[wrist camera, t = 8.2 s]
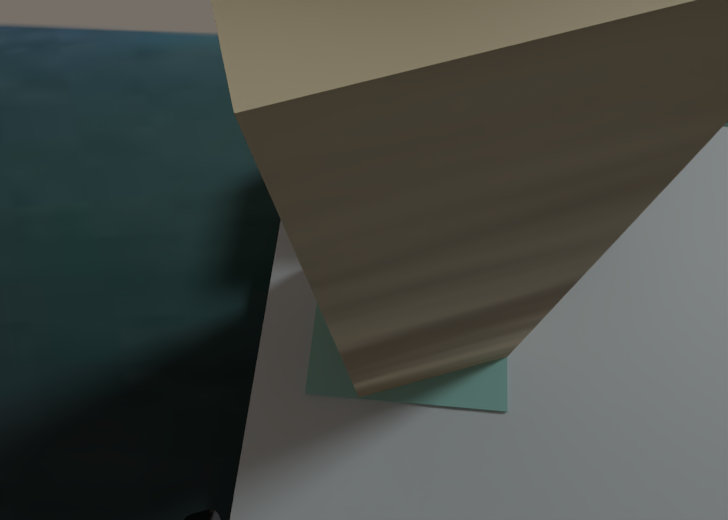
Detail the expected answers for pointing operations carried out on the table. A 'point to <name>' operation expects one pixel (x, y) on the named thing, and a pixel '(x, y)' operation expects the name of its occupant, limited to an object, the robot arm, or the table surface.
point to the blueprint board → (518, 395)
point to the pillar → (464, 154)
